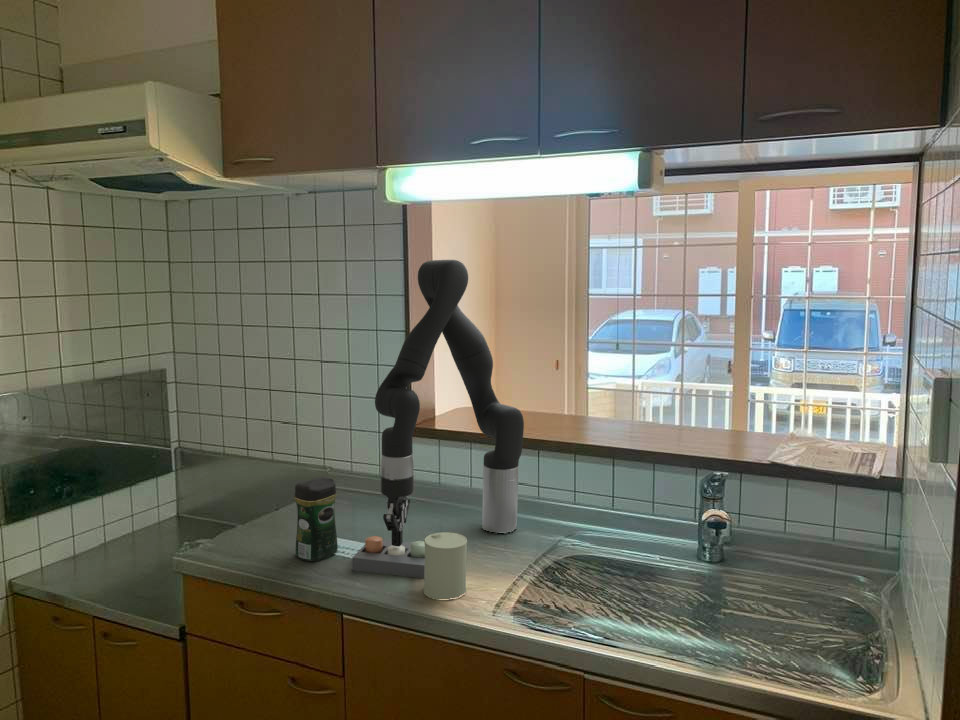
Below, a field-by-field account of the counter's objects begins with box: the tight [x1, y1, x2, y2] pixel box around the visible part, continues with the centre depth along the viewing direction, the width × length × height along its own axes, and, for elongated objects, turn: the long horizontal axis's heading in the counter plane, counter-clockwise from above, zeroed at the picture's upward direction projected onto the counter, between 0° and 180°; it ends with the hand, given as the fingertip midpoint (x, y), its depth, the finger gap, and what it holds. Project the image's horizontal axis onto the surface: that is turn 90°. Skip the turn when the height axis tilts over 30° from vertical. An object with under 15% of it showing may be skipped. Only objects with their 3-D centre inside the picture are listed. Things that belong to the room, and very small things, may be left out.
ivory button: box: [388, 545, 405, 556], centre depth 172 cm, size 4×4×3 cm
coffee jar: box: [294, 475, 339, 562], centre depth 175 cm, size 10×8×19 cm
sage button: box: [410, 540, 425, 559], centre depth 171 cm, size 4×4×3 cm
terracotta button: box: [364, 536, 384, 554], centre depth 173 cm, size 4×4×3 cm
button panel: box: [351, 539, 425, 579], centre depth 172 cm, size 12×17×3 cm
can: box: [423, 531, 468, 600], centre depth 158 cm, size 9×9×12 cm
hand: (397, 545), depth 172 cm, fingers closed
